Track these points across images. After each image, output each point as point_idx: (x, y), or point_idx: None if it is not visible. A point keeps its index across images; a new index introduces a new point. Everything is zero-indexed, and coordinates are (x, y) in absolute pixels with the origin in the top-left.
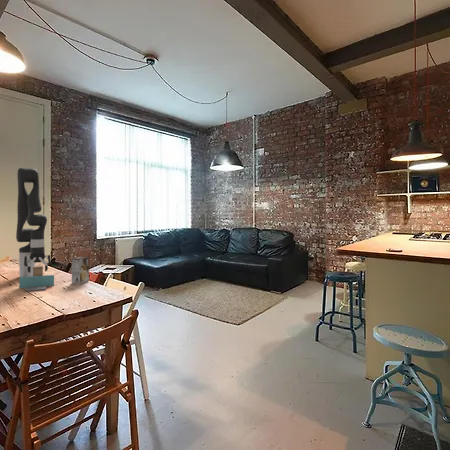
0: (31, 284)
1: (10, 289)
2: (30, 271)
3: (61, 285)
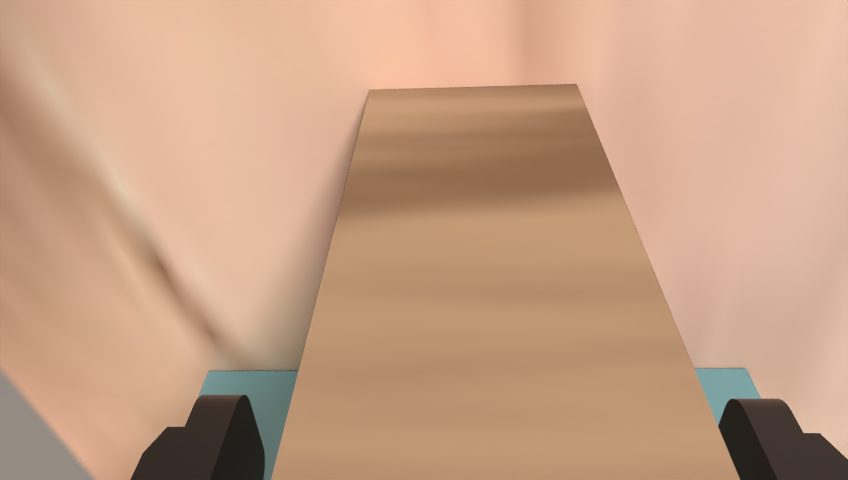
0: None
1: (102, 397)
2: (251, 470)
3: (845, 417)
